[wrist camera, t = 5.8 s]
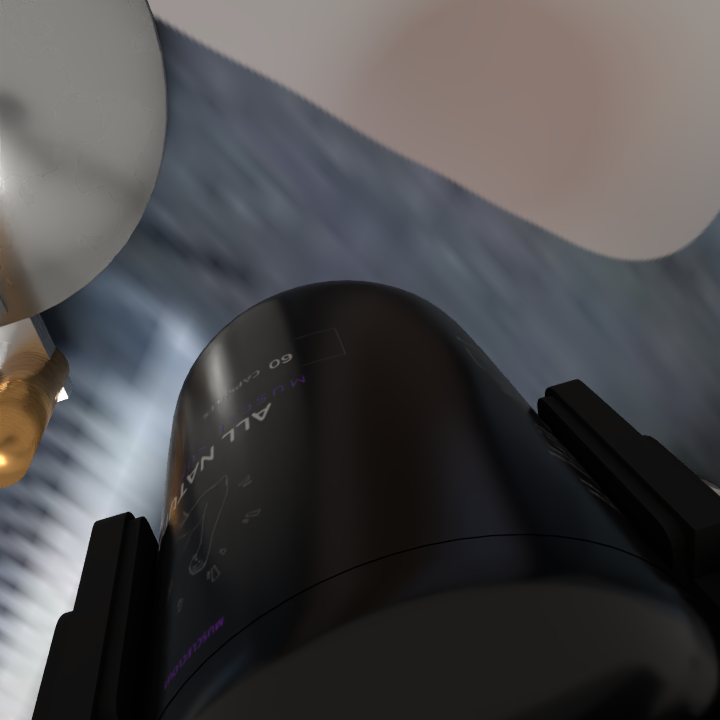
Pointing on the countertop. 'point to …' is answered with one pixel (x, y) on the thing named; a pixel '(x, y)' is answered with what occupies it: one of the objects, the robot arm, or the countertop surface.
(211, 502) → the supplement bottle
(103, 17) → the turntable
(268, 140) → the countertop surface
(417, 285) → the countertop surface
